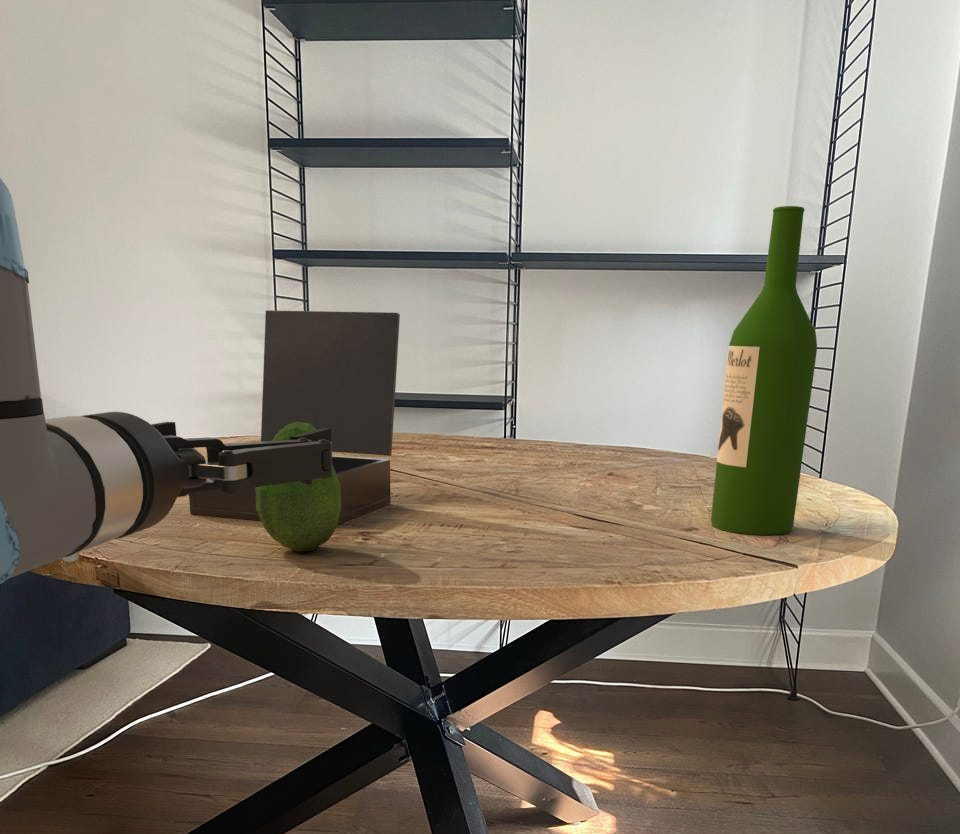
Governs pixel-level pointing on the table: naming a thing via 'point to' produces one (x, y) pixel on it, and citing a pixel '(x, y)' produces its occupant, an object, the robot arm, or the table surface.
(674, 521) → the table surface
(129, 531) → the robot arm
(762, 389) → the wine bottle
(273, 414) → the tin lid
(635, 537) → the table surface
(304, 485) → the avocado
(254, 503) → the tin
